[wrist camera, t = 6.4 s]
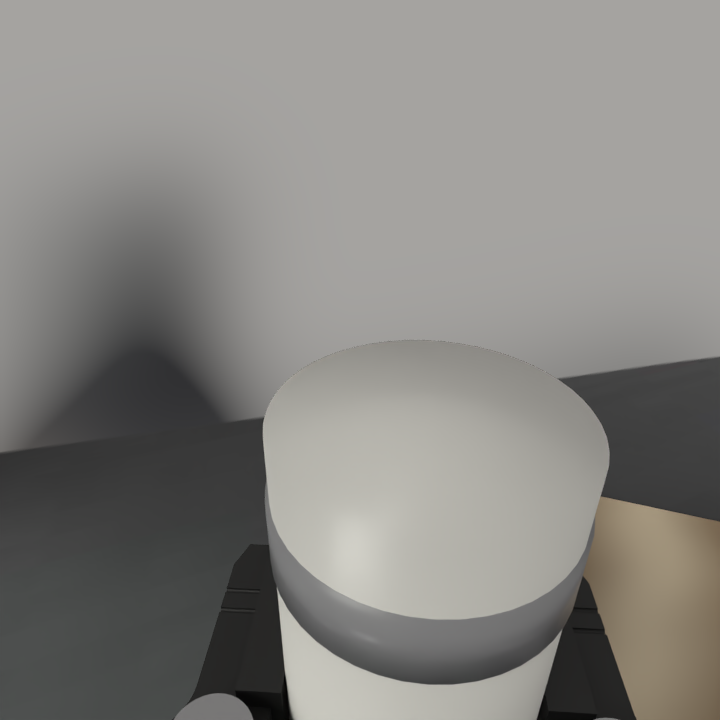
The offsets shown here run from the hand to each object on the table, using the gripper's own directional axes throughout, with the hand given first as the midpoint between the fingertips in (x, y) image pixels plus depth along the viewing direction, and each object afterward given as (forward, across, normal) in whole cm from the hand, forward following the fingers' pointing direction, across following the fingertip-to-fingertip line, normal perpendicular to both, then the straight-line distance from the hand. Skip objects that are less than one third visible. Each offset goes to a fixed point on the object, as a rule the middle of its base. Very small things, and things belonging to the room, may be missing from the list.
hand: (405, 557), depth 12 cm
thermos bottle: (-3, 0, +8) cm, 9 cm away
